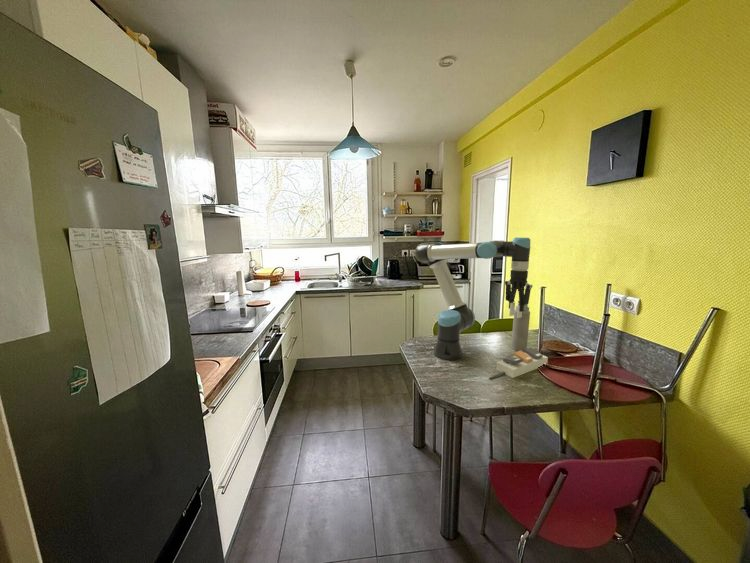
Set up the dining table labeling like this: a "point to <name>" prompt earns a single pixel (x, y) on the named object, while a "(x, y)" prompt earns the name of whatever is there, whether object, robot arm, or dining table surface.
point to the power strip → (519, 367)
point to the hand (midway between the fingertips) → (515, 316)
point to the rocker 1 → (512, 360)
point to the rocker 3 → (533, 353)
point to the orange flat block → (523, 356)
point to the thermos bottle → (520, 329)
